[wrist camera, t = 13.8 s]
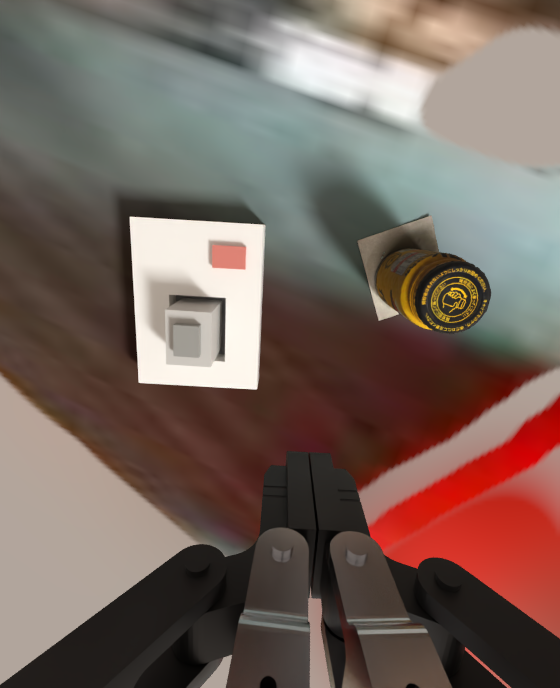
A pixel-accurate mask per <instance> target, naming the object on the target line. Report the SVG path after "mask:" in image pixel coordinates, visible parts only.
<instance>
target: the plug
mask: <svg viewBox="0 0 560 688" xmlns="http://www.w3.org/2000/svg"><path fill="white" fill-rule="evenodd" d="M165 335H166V364H168V365H183V366H199V367H211V366H212V364H213V362H214V360H215V358H216V357H217V355H218V353H219V351H220V349H221V343H222V300H209V299H194V298H182V299H180V300H179V301H177V302H176V303H174V304H173V305H171V306H170V307H168V308H167V309H165Z"/></svg>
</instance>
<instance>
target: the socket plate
mask: <svg viewBox="0 0 560 688" xmlns="http://www.w3.org/2000/svg"><path fill="white" fill-rule="evenodd" d="M130 234H131V251H132V269H133V287H134V305H135V323H136V341H137V359H138V377H139V383H151V384H169V385H186V386H204V387H222V388H240V389H257V386H258V380H259V362H260V339H261V316H262V293H263V270H264V247H265V225H260V224H244V223H227V222H210V221H193V220H176V219H160V218H143V217H130ZM182 298H194V299H209V300H222V343H221V349H220V351H219V353H218V355H217V357H216V358H215V360H214V362H213V364H212V366H211V367H199V366H183V365H168V364H166V335H165V309H167V308H168V307H170V306H171V305H173V304H174V303H176V302H177V301H179V300H180V299H182Z"/></svg>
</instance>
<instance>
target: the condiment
mask: <svg viewBox="0 0 560 688" xmlns="http://www.w3.org/2000/svg"><path fill="white" fill-rule="evenodd" d="M358 245H359V249H360V253H361V256H362V260H363V263H364V267H365V271H366V275H367V279H368V283H369V287H370V290H371V294H372V298H373V302H374V305H375V309H376V313H377V316H378V319H379V321H380V320H383V319H386V318H389V317H392V316H395V315H398V314H401V315H402V316H404V317H405V318H407V319H408V320H409V321H411V322H412V323H413V324H416V325H418V326H420V327H422V328H424V329H430V330H434V331H436V332H439V333H447V334H454V333H458V332H462V331H465V330H467V329H469V328H471V327H472V326H473V325H475V324H476V323H477V322H478V321H479V320H480V319H481V318H482V316H483V315H484V313H485V312H486V311H487V308H488V305H489V301H490V297H491V289H490V286H489V282H488V279H487V278H486V276H485V274H484V273H483V272H482V271H481V270H480V269H479V268H478V267H475V265H473V264H470V263H468V262H466V261H465V260H464V259H462V258H460V257H458V256H456V255H452V254H448V253H441V252H439V249H438V245H437V240H436V236H435V231H434V225H433V220H432V216H428V217H425V218H423V219H419V220H416V221H413V222H410V223H408V224H404V225H402V226H399V227H396V228H393V229H390V230H387V231H384V232H381V233H378V234H375V235H372V236H370V237H367V238H364V239H361V240H358ZM383 252H385V253H384V255H383ZM382 256H383V258H382V259H381V257H382Z"/></svg>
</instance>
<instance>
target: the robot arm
mask: <svg viewBox="0 0 560 688" xmlns="http://www.w3.org/2000/svg"><path fill="white" fill-rule="evenodd" d="M310 586H311V596H312V598H320V599H321V601H322V602H321V603H322V618H321V633H322V639H323V645H324V651H325V657H326V663H327V669H328V675H329V681H330V687H331V688H507V687H506V686H504V685H503V684H502V683H501V682H500V681H499V680H498V679H496V677H494V676H493V675H492V674H491V673H490V672H489V671H488V670H487V669H485V668H484V667H483V666H482V665H481V664H480V663H479V662H478V661H477V660H475V659H474V658H473V657H472V656H471V655H470V654H469V653H468V652H466V651H465V647H466V648H467V649H468V650H470V651H471V652H472V653H473V654H474V655H475V656H476V657H478V658H479V659H480V660H481V661H482V662H483V663H484V664H486V665H487V666H488V667H489V668H490V669H491V670H492V671H493V672H495V673H496V674H497V675H498V676H499V677H500V678H501V679H502V680H503V681H505V682H506V683H507V684H508V685H509V686H510V687H511V688H560V639H559V638H558V637H557V636H555V635H554V634H552V633H551V632H550V631H548V630H547V629H546V628H544V627H543V626H541V625H540V624H539V623H537V622H536V621H535V620H533V619H532V618H530V617H529V616H528V615H526V614H525V613H524V612H522V611H521V610H519V609H518V608H517V607H515V606H514V605H512V604H511V603H510V602H509V601H507V600H506V599H504V598H503V597H502V596H500V595H499V594H498V593H496V592H495V591H493V590H492V589H491V588H489V587H488V586H487V585H485V584H484V583H482V582H481V581H480V580H478V579H477V578H476V577H474V576H473V575H471V574H470V573H469V572H467V571H466V570H465V569H463V568H462V567H460V566H459V565H457V564H455V563H454V562H451V561H449V560H446V559H443V558H428V559H425V560H424V561H422V562H421V563H420V564H419V567H418V569H416V568H413V567H410V566H407V565H404V564H401V563H399V562H396V561H394V560H392V559H390V558H388V557H387V556H385V555H384V554H383V551H382V549H381V547H380V546H379V545H378V543H377V542H376V541H374V540H373V539H372V538H371V537H370V533H369V530H368V526H367V523H366V519H365V516H364V512H363V509H362V505H361V502H360V498H359V495H358V493H357V488H356V484H355V481H354V479H353V477H352V476H351V475H350V474H349V473H348V472H347V471H346V470H345V469H333V464H332V459H331V455H330V453H312V452H309V455H308V452H292V451H287V455H286V466H275V465H271V466H270V468H269V469H268V470H267V472H266V473H265V474H264V487H263V499H262V512H261V525H260V534H259V537H258V539H257V541H256V542H255V544H254V545H253V546H252V547H250V548H249V549H248V550H246V551H244V552H242V553H239V554H236V555H232V556H227V557H225V556H224V555H223V553H222V552H221V551H220V550H219V549H217V548H215V547H213V546H210V545H204V544H199V545H193V546H190V547H187V548H185V549H183V550H182V551H180V552H179V553H177V554H176V555H175V556H173V557H172V558H171V559H169V560H168V561H167V562H165V563H164V564H163V565H161V566H160V567H159V568H157V569H156V570H154V571H153V572H152V573H151V574H149V575H148V576H146V577H145V578H144V579H142V580H141V581H140V582H138V583H137V584H136V585H134V586H133V587H132V588H130V589H129V590H128V591H126V592H125V593H123V594H122V595H121V596H119V597H118V598H117V599H115V600H114V601H113V602H111V603H110V604H109V605H107V606H106V607H105V608H103V609H102V610H101V611H99V612H98V613H96V614H95V615H94V616H92V617H91V618H90V619H89V620H87V621H86V622H84V623H83V624H82V625H80V626H79V627H78V628H76V629H75V630H74V631H72V632H71V633H70V634H68V635H67V636H65V637H64V638H63V639H62V640H60V641H59V642H57V643H56V644H55V645H53V646H52V647H51V648H50V649H48V650H47V651H45V652H44V653H43V654H41V655H40V656H39V657H37V658H36V659H34V660H33V661H32V662H31V663H29V664H28V665H26V666H25V667H24V668H22V669H21V670H20V671H18V672H17V673H16V674H14V675H13V676H12V677H10V678H9V679H8V680H6V681H5V682H4V683H2V684H1V685H0V688H200V687H201V686H202V685H203V684H204V683H205V681H206V680H207V679H208V678H209V677H210V676H211V675H212V674H213V672H214V671H215V670H216V669H217V667H218V666H219V665H220V663H221V661H222V659H223V657H226V656H229V655H232V659H231V664H230V669H229V675H228V680H227V685H226V688H309V684H310V683H309V680H310V676H309V675H310V673H309V671H310V623H309V622H308V598H309V595H310Z"/></svg>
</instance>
